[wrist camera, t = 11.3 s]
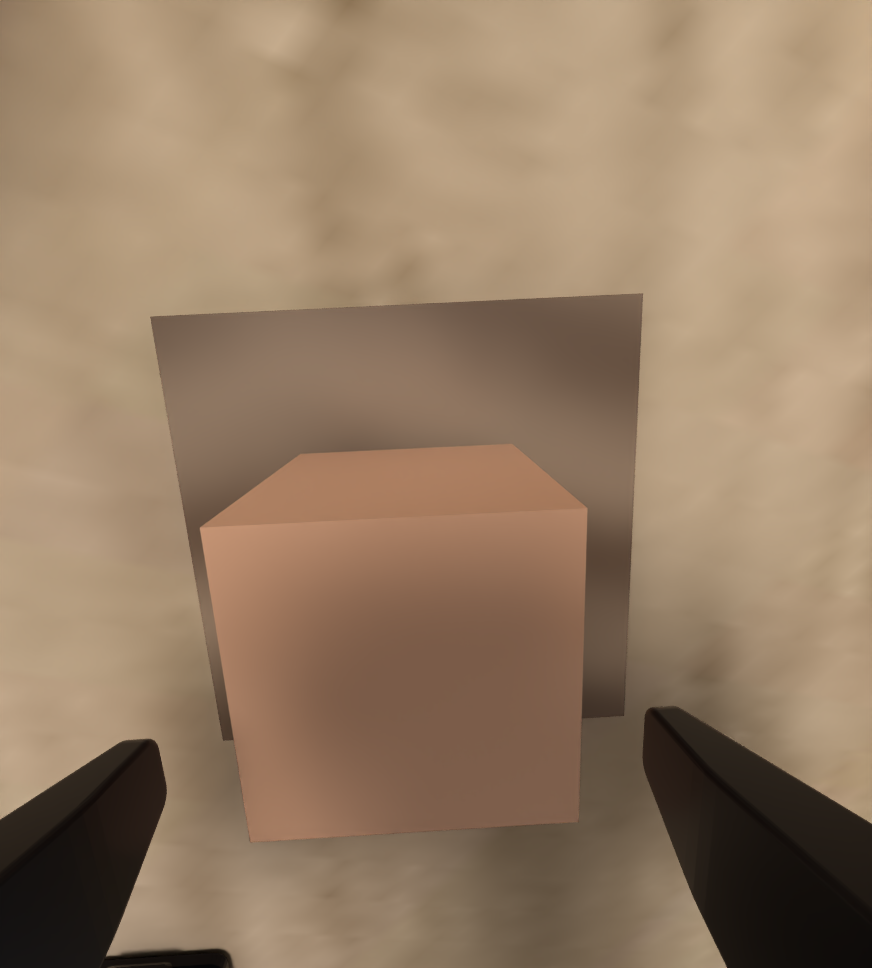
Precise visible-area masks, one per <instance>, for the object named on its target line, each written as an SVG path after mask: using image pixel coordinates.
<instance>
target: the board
mask: <svg viewBox="0 0 872 968" xmlns="http://www.w3.org/2000/svg"><path fill="white" fill-rule="evenodd" d="M642 302H643V293H642V294H621V295H600V296H579V297H558V298H536V299H515V300H494V301H473V302H452V303H430V304H409V305H388V306H367V307H345V308H324V309H303V310H282V311H261V312H239V313H218V314H197V315H176V316H155V317H150V318H151V324H152V329H153V335H154V341H155V347H156V353H157V359H158V364H159V370H160V376H161V382H162V388H163V394H164V399H165V405H166V411H167V417H168V423H169V428H170V434H171V440H172V446H173V452H174V458H175V463H176V469H177V475H178V481H179V487H180V492H181V498H182V504H183V510H184V516H185V522H186V527H187V533H188V539H189V545H190V551H191V557H192V562H193V568H194V574H195V580H196V586H197V591H198V597H199V603H200V609H201V615H202V621H203V626H204V632H205V638H206V644H207V650H208V655H209V661H210V667H211V673H212V679H213V685H214V690H215V696H216V702H217V708H218V714H219V720H220V725H221V731H222V737H223V741H225V740H234V738H233V732H232V726H231V719H230V713H229V707H228V701H227V694H226V688H225V682H224V676H223V670H222V663H221V657H220V651H219V645H218V638H217V632H216V626H215V620H214V613H213V607H212V601H211V595H210V588H209V582H208V576H207V570H206V564H205V557H204V551H203V545H202V539H201V532H200V527H201V526H203V525H204V524H205V523H207V522H208V521H210V520H211V519H212V518H214V517H215V516H216V515H218V514H219V513H220V512H222V511H223V510H225V509H226V508H227V507H229V506H230V505H231V504H233V503H234V502H235V501H237V500H238V499H240V498H241V497H242V496H244V495H245V494H246V493H248V492H249V491H250V490H252V489H253V488H255V487H256V486H257V485H259V484H260V483H261V482H263V481H264V480H265V479H267V478H268V477H270V476H271V475H272V474H274V473H275V472H276V471H278V470H279V469H280V468H282V467H283V466H285V465H286V464H287V463H289V462H290V461H291V460H293V459H294V458H295V457H297V456H298V455H300V454H308V453H329V452H350V451H371V450H392V449H413V448H434V447H455V446H476V445H497V444H513V445H514V446H515V447H517V448H518V449H519V450H520V451H521V452H522V453H524V454H525V455H526V456H527V457H528V458H529V459H531V460H532V461H533V462H534V463H535V464H536V465H538V466H539V467H540V468H541V469H542V470H543V471H545V472H546V473H547V474H548V475H549V476H550V477H552V478H553V479H554V480H555V481H556V482H557V483H559V484H560V485H561V486H562V487H563V488H564V489H566V490H567V491H568V492H569V493H570V494H571V495H573V496H574V497H575V498H576V499H577V500H579V501H580V502H581V503H582V504H583V505H584V506H586V507H587V544H586V580H585V616H584V652H583V687H582V718H594V717H610V716H624V701H625V679H626V656H627V634H628V612H629V590H630V568H631V546H632V523H633V501H634V479H635V457H636V435H637V413H638V391H639V368H640V346H641V324H642Z"/></svg>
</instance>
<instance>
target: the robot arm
mask: <svg viewBox="0 0 872 968" xmlns="http://www.w3.org/2000/svg"><path fill="white" fill-rule="evenodd" d="M643 765H644V769H645V773H646V776H647V779H648V781H649V784H650V787H651V789H652V792H653V795H654V797H655V800H656V802H657V805H658V808H659V810H660V813H661V815H662V818H663V821H664V823H665V826H666V828H667V831H668V834H669V836H670V839H671V842H672V844H673V847H674V849H675V852H676V855H677V857H678V860H679V862H680V865H681V868H682V870H683V873H684V875H685V878H686V880H687V883H688V885H689V888H690V890H691V893H692V895H693V897H694V900H695V902H696V904H697V906H698V908H699V910H700V913H701V915H702V917H703V919H704V921H705V923H706V925H707V927H708V929H709V931H710V933H711V935H712V937H713V939H714V942H715V944H716V946H717V948H718V950H719V952H720V954H721V956H722V958H723V960H724V962H725V964H726V966H727V968H872V824H871V823H870V822H868V821H867V820H865V819H863V818H862V817H860V816H858V815H857V814H855V813H853V812H852V811H850V810H848V809H847V808H845V807H843V806H842V805H840V804H838V803H837V802H835V801H833V800H832V799H830V798H828V797H827V796H825V795H823V794H822V793H820V792H818V791H817V790H815V789H813V788H812V787H810V786H808V785H807V784H805V783H803V782H802V781H800V780H798V779H797V778H795V777H793V776H792V775H790V774H789V773H787V772H785V771H784V770H782V769H780V768H779V767H777V766H775V765H774V764H772V763H770V762H769V761H767V760H765V759H764V758H762V757H760V756H759V755H757V754H755V753H754V752H752V751H750V750H749V749H747V748H745V747H744V746H742V745H740V744H739V743H737V742H735V741H734V740H732V739H730V738H729V737H727V736H725V735H724V734H722V733H720V732H719V731H717V730H716V729H714V728H712V727H711V726H709V725H707V724H706V723H704V722H702V721H701V720H699V719H697V718H696V717H694V716H692V715H691V714H689V713H687V712H686V711H684V710H682V709H680V708H678V707H676V706H666V707H652V708H649V709H648V710H647V712H646V714H645V722H644V740H643ZM166 794H167V787H166V781H165V776H164V771H163V767H162V762H161V757H160V752H159V748H158V745H157V743H156V742H155V741H154V740H152V739H137V740H126V741H122V742H120V743H118V744H117V745H115V746H114V747H112V748H111V749H109V750H107V751H106V752H104V753H103V754H101V755H100V756H98V757H97V758H95V759H93V760H92V761H90V762H89V763H87V764H86V765H84V766H83V767H81V768H80V769H78V770H76V771H75V772H73V773H72V774H70V775H69V776H67V777H66V778H64V779H62V780H61V781H59V782H58V783H56V784H55V785H53V786H52V787H50V788H49V789H47V790H45V791H44V792H42V793H41V794H39V795H38V796H36V797H35V798H33V799H31V800H30V801H28V802H27V803H25V804H24V805H22V806H21V807H19V808H18V809H16V810H14V811H13V812H11V813H10V814H8V815H7V816H5V817H4V818H2V819H0V968H229V965H228V960H227V958H226V957H225V956H224V955H222V954H219V953H205V954H191V955H176V956H162V957H148V958H133V959H119V960H105V961H104V958H105V956H106V954H107V952H108V950H109V947H110V945H111V943H112V941H113V939H114V936H115V934H116V931H117V929H118V927H119V924H120V922H121V919H122V917H123V914H124V912H125V909H126V906H127V904H128V901H129V898H130V896H131V893H132V890H133V888H134V885H135V882H136V880H137V877H138V874H139V872H140V869H141V867H142V864H143V861H144V859H145V856H146V853H147V851H148V848H149V845H150V843H151V840H152V837H153V835H154V832H155V829H156V827H157V824H158V821H159V819H160V816H161V814H162V811H163V808H164V805H165V801H166Z"/></svg>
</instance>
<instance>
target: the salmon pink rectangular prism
mask: <svg viewBox="0 0 872 968" xmlns="http://www.w3.org/2000/svg"><path fill="white" fill-rule="evenodd" d="M200 532H201V539H202V545H203V551H204V557H205V564H206V570H207V576H208V582H209V588H210V595H211V601H212V607H213V613H214V620H215V626H216V632H217V638H218V645H219V651H220V657H221V663H222V670H223V676H224V682H225V688H226V694H227V701H228V707H229V713H230V719H231V726H232V732H233V738H234V744H235V751H236V757H237V763H238V769H239V776H240V782H241V788H242V794H243V801H244V807H245V813H246V819H247V825H248V832H249V838H250V842H265V841H281V840H297V839H314V838H330V837H346V836H362V835H378V834H394V833H410V832H426V831H442V830H458V829H474V828H491V827H507V826H523V825H539V824H555V823H571V822H579V795H580V759H581V723H582V687H583V652H584V616H585V580H586V544H587V507H586V506H584V505H583V504H582V503H581V502H580V501H579V500H577V499H576V498H575V497H574V496H573V495H571V494H570V493H569V492H568V491H567V490H566V489H564V488H563V487H562V486H561V485H560V484H559V483H557V482H556V481H555V480H554V479H553V478H552V477H550V476H549V475H548V474H547V473H546V472H545V471H543V470H542V469H541V468H540V467H539V466H538V465H536V464H535V463H534V462H533V461H532V460H531V459H529V458H528V457H527V456H526V455H525V454H524V453H522V452H521V451H520V450H519V449H518V448H517V447H515V446H514V445H513V444H497V445H476V446H455V447H434V448H413V449H392V450H371V451H350V452H329V453H308V454H300V455H298V456H297V457H295V458H294V459H293V460H291V461H290V462H289V463H287V464H286V465H285V466H283V467H282V468H280V469H279V470H278V471H276V472H275V473H274V474H272V475H271V476H270V477H268V478H267V479H265V480H264V481H263V482H261V483H260V484H259V485H257V486H256V487H255V488H253V489H252V490H250V491H249V492H248V493H246V494H245V495H244V496H242V497H241V498H240V499H238V500H237V501H235V502H234V503H233V504H231V505H230V506H229V507H227V508H226V509H225V510H223V511H222V512H220V513H219V514H218V515H216V516H215V517H214V518H212V519H211V520H210V521H208V522H207V523H205V524H204V525H203V526H201V527H200Z"/></svg>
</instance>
